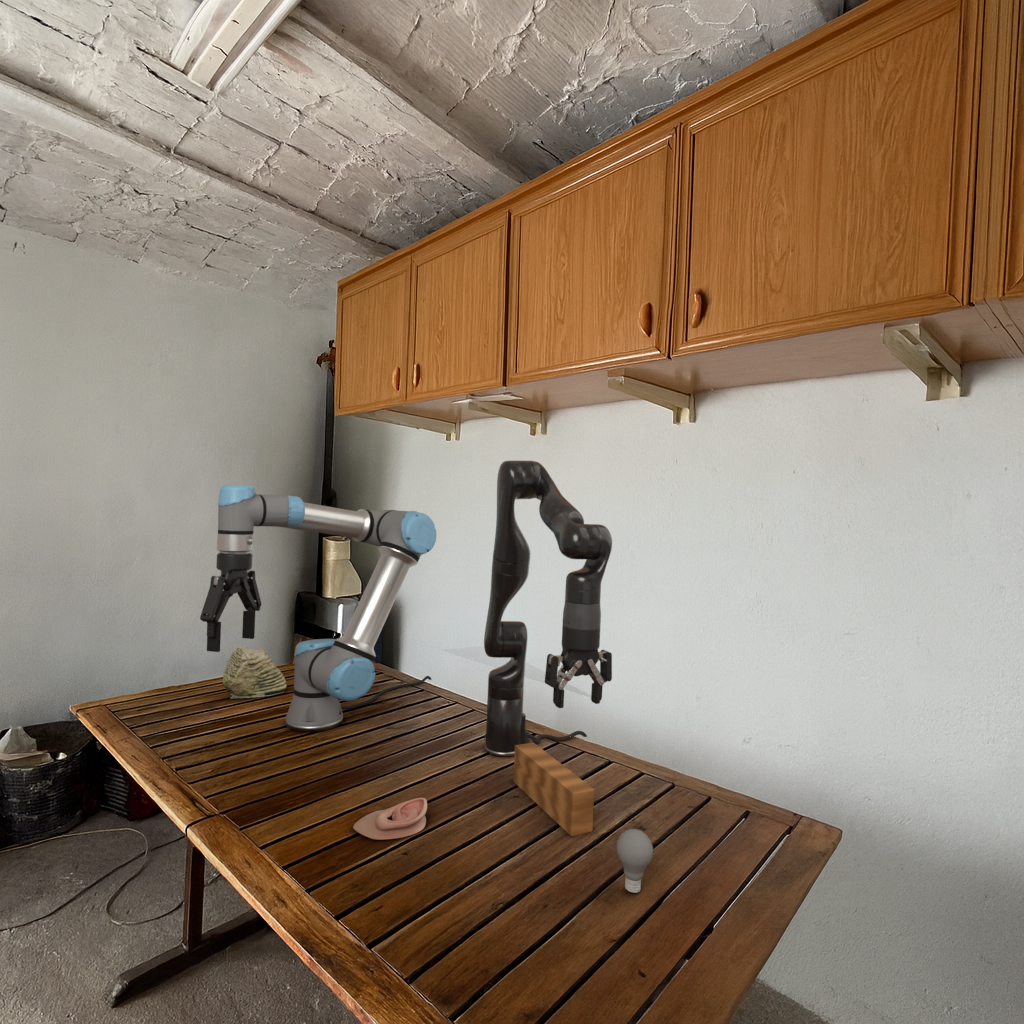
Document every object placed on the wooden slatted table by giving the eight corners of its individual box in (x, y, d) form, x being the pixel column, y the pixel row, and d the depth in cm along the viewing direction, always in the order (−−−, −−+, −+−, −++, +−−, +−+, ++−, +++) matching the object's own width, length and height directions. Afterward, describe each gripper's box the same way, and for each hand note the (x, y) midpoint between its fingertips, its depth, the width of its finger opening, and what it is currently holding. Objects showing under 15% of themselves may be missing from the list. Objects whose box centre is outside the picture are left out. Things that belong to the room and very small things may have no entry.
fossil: (218, 695, 195) (220, 647, 195) (278, 685, 208) (279, 640, 207) (228, 703, 189) (230, 653, 188) (289, 692, 201) (290, 645, 201)
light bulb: (610, 879, 108) (613, 822, 108) (644, 879, 109) (647, 822, 109) (619, 902, 102) (622, 840, 102) (655, 901, 103) (658, 840, 103)
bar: (513, 781, 145) (514, 745, 145) (531, 778, 147) (533, 742, 147) (571, 836, 122) (573, 793, 122) (592, 831, 124) (594, 789, 124)
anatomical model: (346, 814, 119) (372, 787, 130) (345, 835, 119) (371, 806, 130) (413, 824, 116) (433, 796, 127) (412, 846, 116) (432, 816, 127)
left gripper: (216, 557, 132) (213, 658, 133) (278, 549, 157) (275, 634, 157) (184, 555, 133) (180, 655, 134) (250, 547, 158) (247, 632, 158)
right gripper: (560, 630, 119) (556, 715, 120) (622, 626, 126) (618, 707, 126) (541, 622, 126) (537, 702, 127) (600, 618, 132) (596, 695, 133)
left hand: (231, 644), depth 146 cm, fingers open, 13 cm apart
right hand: (577, 704), depth 126 cm, fingers open, 8 cm apart
